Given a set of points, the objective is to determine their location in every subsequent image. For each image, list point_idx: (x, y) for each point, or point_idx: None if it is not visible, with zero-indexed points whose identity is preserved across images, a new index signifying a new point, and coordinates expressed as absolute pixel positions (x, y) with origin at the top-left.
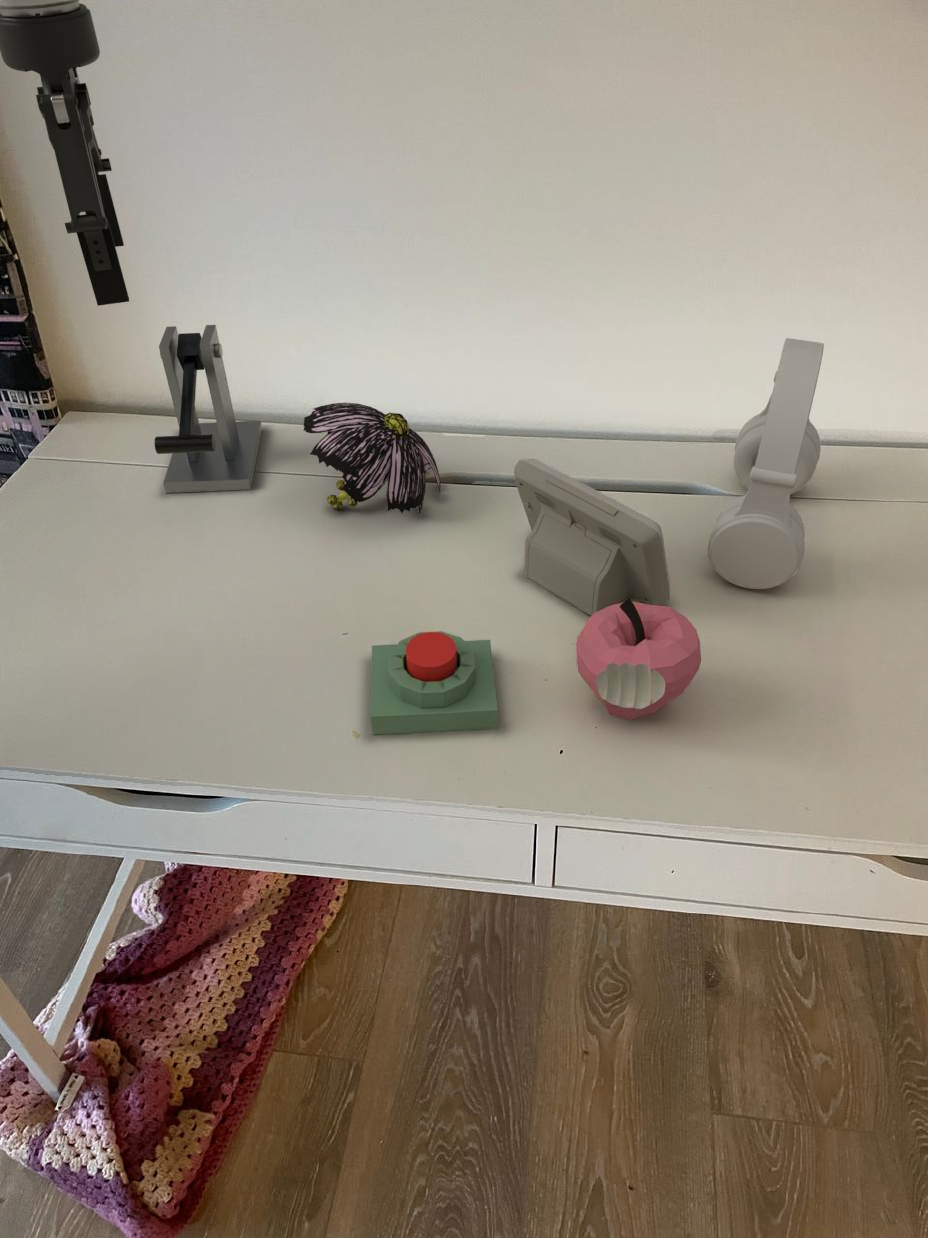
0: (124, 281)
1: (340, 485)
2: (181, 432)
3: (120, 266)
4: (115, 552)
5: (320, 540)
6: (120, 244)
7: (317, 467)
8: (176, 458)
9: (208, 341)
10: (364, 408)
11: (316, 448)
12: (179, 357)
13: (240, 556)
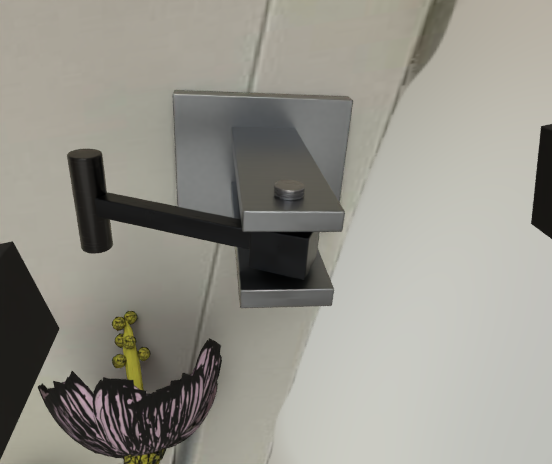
0: (38, 371)
1: (122, 344)
2: (99, 204)
3: (17, 417)
4: (8, 29)
5: (65, 299)
6: (535, 216)
7: (228, 285)
8: (245, 105)
9: (253, 304)
10: (146, 447)
11: (78, 383)
12: None
13: (21, 214)
